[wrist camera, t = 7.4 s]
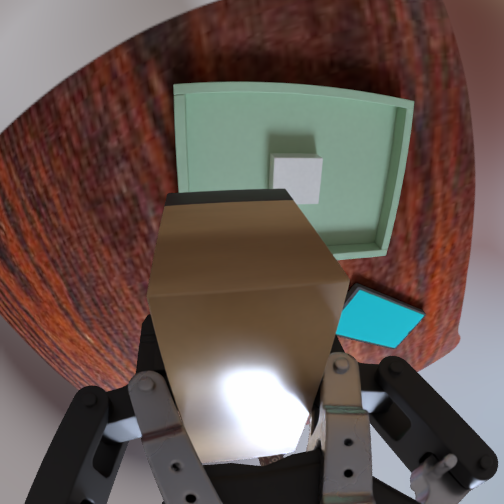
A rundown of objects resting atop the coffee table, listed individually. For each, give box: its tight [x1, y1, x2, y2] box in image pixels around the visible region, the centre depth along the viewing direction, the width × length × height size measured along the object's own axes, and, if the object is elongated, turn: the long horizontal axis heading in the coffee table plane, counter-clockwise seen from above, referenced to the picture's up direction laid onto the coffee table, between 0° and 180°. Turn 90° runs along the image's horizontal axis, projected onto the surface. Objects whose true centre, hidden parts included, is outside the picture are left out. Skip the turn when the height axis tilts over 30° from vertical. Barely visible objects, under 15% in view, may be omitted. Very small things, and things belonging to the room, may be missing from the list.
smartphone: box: [336, 283, 426, 349], centre depth 37 cm, size 7×1×15 cm
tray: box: [173, 82, 414, 260], centre depth 25 cm, size 16×20×2 cm
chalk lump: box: [269, 153, 323, 204], centre depth 25 cm, size 4×4×2 cm
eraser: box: [147, 189, 350, 463], centre depth 12 cm, size 10×4×6 cm, turn 178°
